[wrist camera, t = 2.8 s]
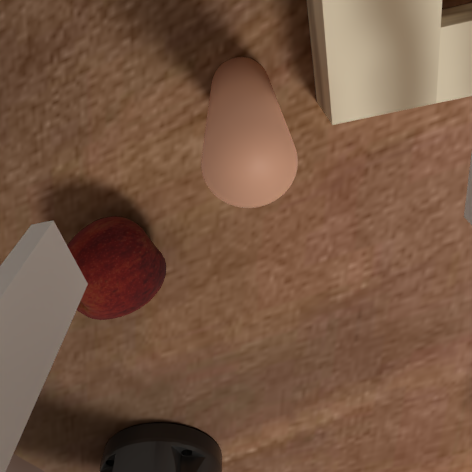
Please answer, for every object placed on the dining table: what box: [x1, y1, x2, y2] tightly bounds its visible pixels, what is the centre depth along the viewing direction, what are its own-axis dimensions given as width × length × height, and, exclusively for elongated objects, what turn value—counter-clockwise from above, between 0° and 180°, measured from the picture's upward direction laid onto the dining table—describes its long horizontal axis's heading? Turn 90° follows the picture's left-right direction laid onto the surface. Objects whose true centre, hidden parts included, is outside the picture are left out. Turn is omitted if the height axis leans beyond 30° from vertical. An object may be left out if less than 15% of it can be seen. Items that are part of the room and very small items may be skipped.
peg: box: [201, 57, 298, 208], centre depth 22 cm, size 4×4×13 cm
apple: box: [67, 216, 166, 320], centre depth 31 cm, size 7×8×8 cm
